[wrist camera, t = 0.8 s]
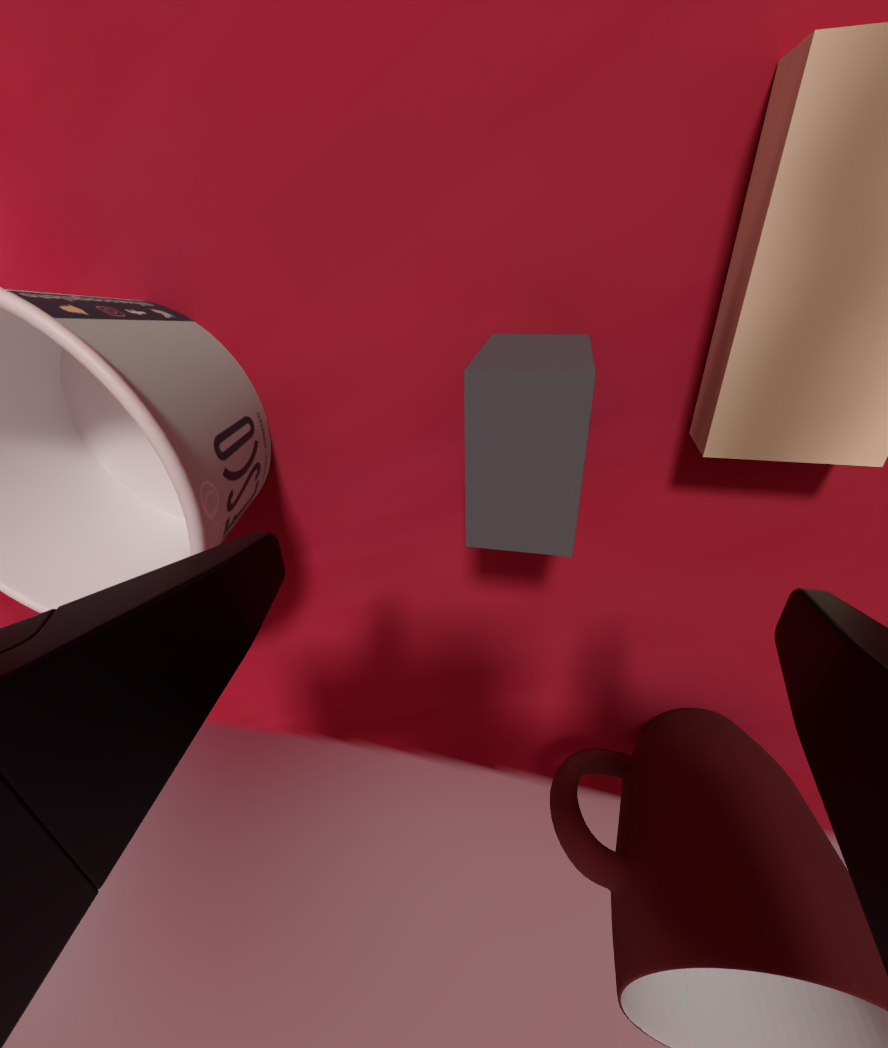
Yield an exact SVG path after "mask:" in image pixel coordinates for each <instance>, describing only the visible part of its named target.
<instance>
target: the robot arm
mask: <svg viewBox="0 0 888 1048" xmlns="http://www.w3.org/2000/svg"><path fill="white" fill-rule="evenodd" d="M284 576H285V566H284V562H283V558H282V554H281V549H280V545H279V541H278V539H277V537H276V536H275V535H274V534H272V533H263V532H252V533H249V534H247V535H244V536H242V537H239V538H236V539H234V540H231V541H229V542H226V543H223V544H221V545H218V546H215V547H213V548H210V549H208V550H205V551H202V552H200V553H197V554H195V555H192V556H189V557H187V558H184V559H182V560H179V561H176V562H174V563H171V564H169V565H166V566H163V567H161V568H158V569H155V570H153V571H150V572H148V573H145V574H142V575H140V576H137V577H135V578H132V579H129V580H127V581H124V582H122V583H119V584H116V585H114V586H111V587H109V588H106V589H103V590H101V591H98V592H95V593H93V594H90V595H88V596H85V597H82V598H80V599H77V600H75V601H72V602H69V603H67V604H64V605H62V606H59V607H58V608H57V609H51V610H48V611H46V612H43V613H40V614H38V615H35V616H33V617H30V618H27V619H25V620H22V621H19V622H17V623H14V624H11V625H9V626H6V627H3V628H0V1048H2V1047H3V1044H4V1043H5V1042H6V1040H7V1039H8V1037H9V1035H10V1034H11V1032H12V1031H13V1029H14V1027H15V1026H16V1024H17V1023H18V1021H19V1019H20V1018H21V1016H22V1014H23V1013H24V1011H25V1010H26V1008H27V1006H28V1005H29V1003H30V1002H31V1000H32V998H33V997H34V995H35V993H36V992H37V990H38V989H39V987H40V986H41V984H42V982H43V981H44V979H45V977H46V976H47V974H48V973H49V971H50V969H51V968H52V966H53V965H54V963H55V961H56V960H57V958H58V957H59V955H60V953H61V952H62V950H63V949H64V947H65V945H66V944H67V942H68V940H69V939H70V937H71V936H72V934H73V932H74V931H75V929H76V928H77V926H78V924H79V923H80V921H81V920H82V918H83V916H84V915H85V913H86V911H87V910H88V908H89V907H90V905H91V903H92V902H93V900H94V899H95V897H96V895H97V894H98V889H100V888H101V886H102V885H103V884H104V882H105V880H106V879H107V877H108V875H109V874H110V872H111V871H112V869H113V867H114V866H115V864H116V863H117V861H118V859H119V858H120V856H121V855H122V853H123V851H124V850H125V848H126V847H127V845H128V843H129V842H130V840H131V839H132V837H133V835H134V834H135V832H136V831H137V829H138V827H139V826H140V824H141V822H142V821H143V819H144V818H145V816H146V814H147V813H148V811H149V810H150V808H151V806H152V805H153V803H154V801H155V800H156V798H157V797H158V795H159V793H160V792H161V790H162V789H163V787H164V785H165V784H166V782H167V781H168V779H169V777H170V776H171V774H172V773H173V771H174V769H175V768H176V766H177V765H178V763H179V761H180V760H181V758H182V757H183V755H184V753H185V752H186V750H187V748H188V747H189V745H190V744H191V742H192V740H193V739H194V737H195V735H196V734H197V732H198V731H199V729H200V727H201V726H202V724H203V723H204V721H205V720H206V718H207V716H208V715H209V713H210V711H211V710H212V708H213V707H214V705H215V703H216V702H217V700H218V699H219V697H220V695H221V694H222V692H223V691H224V689H225V687H226V686H227V684H228V683H229V681H230V679H231V678H232V676H233V674H234V673H235V671H236V670H237V668H238V666H239V665H240V663H241V662H242V660H243V658H244V657H245V655H246V654H247V652H248V650H249V648H250V647H251V645H252V643H253V641H254V639H255V637H256V636H257V634H258V632H259V630H260V628H261V626H262V623H263V621H264V619H265V617H266V615H267V613H268V611H269V609H270V607H271V605H272V603H273V601H274V599H275V597H276V595H277V593H278V590H279V588H280V586H281V584H282V582H283V580H284ZM775 643H776V648H777V652H778V656H779V660H780V665H781V669H782V673H783V677H784V681H785V686H786V690H787V694H788V698H789V702H790V707H791V711H792V715H793V719H794V722H795V726H796V730H797V733H798V736H799V739H800V741H801V744H802V747H803V750H804V753H805V755H806V758H807V761H808V763H809V766H810V769H811V771H812V774H813V777H814V780H815V782H816V785H817V788H818V790H819V793H820V796H821V798H822V801H823V804H824V807H825V809H826V812H827V815H828V817H829V820H830V823H831V825H832V828H833V831H834V834H835V836H836V839H837V842H838V844H839V847H840V850H841V852H842V855H843V858H844V861H845V863H846V866H847V868H848V871H849V874H850V877H851V879H852V882H853V885H854V888H855V890H856V893H857V896H858V898H859V901H860V904H861V906H862V909H863V912H864V915H865V917H866V920H867V923H868V925H869V928H870V931H871V933H872V936H873V939H874V942H875V944H876V947H877V950H878V952H879V955H880V958H881V960H882V963H883V966H884V969H885V971H886V974H887V977H888V628H887V627H885V626H884V625H882V624H881V623H879V622H877V621H876V620H874V619H872V618H871V617H869V616H867V615H866V614H864V613H862V612H861V611H859V610H857V609H856V608H854V607H852V606H851V605H849V604H847V603H846V602H844V601H842V600H841V599H839V598H837V597H836V596H834V595H832V594H831V593H829V592H826V591H823V590H813V589H803V588H798V589H796V590H793V592H792V593H791V594H790V596H789V598H788V600H787V602H786V605H785V607H784V609H783V612H782V614H781V616H780V619H779V621H778V623H777V626H776V629H775Z"/></svg>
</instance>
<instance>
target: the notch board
mask: <svg viewBox="0 0 888 1048" xmlns="http://www.w3.org/2000/svg"><path fill="white" fill-rule="evenodd" d="M689 434H690V436H691V437H692V439H693V441H694V442H695V444H696V446H697V448H698V449H699V451H700V453H701V455H702V456H703V457H711V458H729V459H747V460H765V461H783V462H801V463H819V464H837V465H855V466H873V467H883V465H884V463H885V461H886V459H887V456H888V22H885V23H876V24H867V25H857V26H848V27H839V28H830V29H820V30H815V31H813V32H812V33H811V34H810V35H809V36H807V37H806V38H805V39H804V40H803V41H801V42H800V43H799V44H798V45H797V46H795V47H794V48H793V49H792V50H791V51H790V52H788V53H787V54H786V55H785V56H784V57H782V58H781V59H780V60H779V61H778V66H777V70H776V74H775V78H774V82H773V86H772V91H771V95H770V99H769V103H768V107H767V111H766V116H765V120H764V124H763V128H762V132H761V136H760V141H759V145H758V149H757V153H756V157H755V161H754V166H753V170H752V174H751V178H750V182H749V186H748V190H747V195H746V199H745V203H744V207H743V211H742V215H741V220H740V224H739V228H738V232H737V236H736V240H735V245H734V249H733V253H732V257H731V261H730V265H729V270H728V274H727V278H726V282H725V286H724V290H723V295H722V299H721V303H720V307H719V311H718V315H717V320H716V324H715V328H714V332H713V336H712V340H711V344H710V349H709V353H708V357H707V361H706V365H705V369H704V374H703V378H702V382H701V386H700V390H699V394H698V399H697V403H696V407H695V411H694V415H693V419H692V424H691V428H690V432H689Z"/></svg>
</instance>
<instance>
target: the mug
mask: <svg viewBox="0 0 888 1048" xmlns="http://www.w3.org/2000/svg"><path fill="white" fill-rule="evenodd" d="M587 773H603V774H609V775H613V776H617V777H620V778H622V792H621V803H620V815H619V825H618V834H617V843H616V852H614V851H612V850H610V849H608V848H607V847H605V846H604V845H602V844H601V843H600V842H599V841H598V840H597V839H596V838H595V837H594V835H593V834H592V833H591V831H590V830H589V828H588V827H587V825H586V823H585V821H584V819H583V817H582V814H581V811H580V808H579V805H578V798H577V787H578V782H579V779H580V777H581V776H582V775H584V774H587ZM550 809H551V817H552V822H553V825H554V829H555V832H556V834H557V837H558V839H559V841H560V844H561V846H562V848H563V849H564V851H565V853H566V854H567V856H568V858H569V859H570V860H571V862H572V863H573V864H574V866H575V867H576V868H577V869H578V870H579V871H580V872H581V873H582V874H583V875H584V876H585V877H587V878H588V879H590V880H591V881H593V882H595V883H596V884H598V885H601V886H603V887H605V888H608V889H609V890H610V891H611V906H612V907H611V908H612V932H613V947H614V960H615V971H616V984H617V996H618V1002H619V1005H620V1008H621V1010H622V1011H623V1013H624V1014H625V1015H626V1017H627V1018H628V1019H629V1020H630V1021H631V1022H632V1023H633V1024H634V1025H635V1026H636V1027H637V1028H639V1029H640V1030H641V1031H642V1032H644V1033H645V1034H647V1035H648V1036H650V1037H651V1038H653V1039H655V1040H656V1041H658V1042H660V1043H661V1044H663V1045H665V1046H667V1047H669V1048H888V977H887V974H886V971H885V969H884V966H883V963H882V960H881V958H880V955H879V952H878V950H877V947H876V944H875V942H874V939H873V936H872V933H871V931H870V928H869V925H868V923H867V920H866V917H865V915H864V912H863V909H862V906H861V904H860V901H859V898H858V896H857V893H856V890H855V888H854V885H853V882H852V879H851V877H850V874H849V872H848V870H847V868H846V867H845V865H844V864H843V862H842V860H841V859H840V857H839V855H838V854H837V852H836V851H835V849H834V848H833V846H832V844H831V842H830V841H829V839H828V838H827V836H826V834H825V833H824V831H823V830H822V828H821V826H820V825H819V823H818V821H817V820H816V818H815V817H814V815H813V813H812V812H811V810H810V808H809V807H808V805H807V804H806V802H805V800H804V799H803V797H802V796H801V794H800V792H799V791H798V789H797V788H796V786H795V785H794V783H793V782H792V780H791V779H790V777H789V776H788V775H787V774H786V772H785V771H784V770H783V768H782V767H781V766H780V765H779V764H778V763H777V762H776V761H775V760H774V759H773V758H772V757H771V756H770V755H769V754H768V753H767V752H766V751H765V750H764V749H763V748H762V747H761V746H760V745H759V744H757V743H756V742H755V741H754V740H753V739H752V738H751V737H749V736H748V735H747V734H746V733H745V732H744V731H743V730H741V729H740V728H739V727H738V726H737V725H736V724H734V723H733V722H732V721H731V720H729V719H728V718H726V717H724V716H722V715H720V714H718V713H715V712H712V711H708V710H703V709H693V708H688V709H678V710H673V711H669V712H667V713H664V714H662V715H660V716H658V717H657V718H655V719H654V720H653V721H652V722H651V723H650V725H649V726H648V727H647V729H646V731H645V733H644V734H643V736H642V738H641V740H640V741H639V743H638V745H637V747H636V748H635V750H634V752H633V754H632V755H631V756H630V755H627V754H623V753H619V752H615V751H611V750H605V749H586V750H582V751H579V752H577V753H574V754H573V755H571V756H570V757H568V758H567V759H566V760H565V761H564V762H563V763H562V764H561V765H560V767H559V768H558V770H557V772H556V774H555V776H554V779H553V781H552V786H551V790H550Z"/></svg>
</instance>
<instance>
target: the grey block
mask: <svg viewBox="0 0 888 1048" xmlns="http://www.w3.org/2000/svg"><path fill="white" fill-rule="evenodd" d="M595 375H596V372H595V366H594V360H593V354H592V348H591V342H590V336H589V335H570V334H492V336H491V337H490V338H489V340H488V341H487V342H486V343H485V345H484V346H483V347H482V348H481V350H480V351H479V352H478V353H477V355H476V356H475V357H474V358H473V360H472V361H471V362H470V364H469V365H468V366H467V367H466V369H465V370H464V401H465V525H466V547H476V548H486V549H496V550H506V551H516V552H526V553H536V554H546V555H556V556H566V557H572V555H573V547H574V539H575V531H576V523H577V516H578V508H579V500H580V492H581V484H582V477H583V469H584V461H585V453H586V445H587V438H588V430H589V422H590V414H591V406H592V399H593V391H594V383H595Z"/></svg>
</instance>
